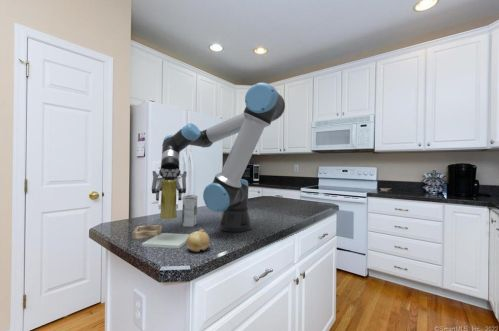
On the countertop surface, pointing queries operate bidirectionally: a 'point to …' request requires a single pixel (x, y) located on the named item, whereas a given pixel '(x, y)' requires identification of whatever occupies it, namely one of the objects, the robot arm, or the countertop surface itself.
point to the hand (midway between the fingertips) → (168, 206)
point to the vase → (168, 200)
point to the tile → (167, 240)
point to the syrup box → (189, 211)
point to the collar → (146, 231)
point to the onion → (198, 241)
